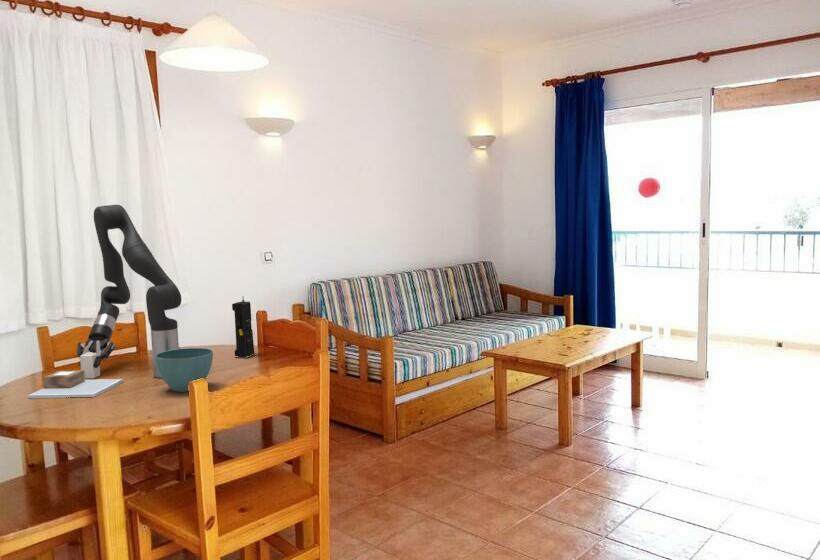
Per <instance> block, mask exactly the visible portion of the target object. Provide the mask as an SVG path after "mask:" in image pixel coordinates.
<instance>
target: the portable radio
mask: <svg viewBox="0 0 820 560" xmlns="http://www.w3.org/2000/svg"><path fill="white" fill-rule="evenodd" d="M231 307H232V308H231V310H232V311H233V312H234V326H235V347H236V348H235V350H234V357H235V356H238V357H247V356H250V355H252V354H254V353H255V345H254V334H253V333H254V331H253V329H252V308H251V301H245V299H244V297H242V301H237V302H234V303H232V304H231ZM254 355H255V354H254ZM250 357H251V356H250Z"/></svg>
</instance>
